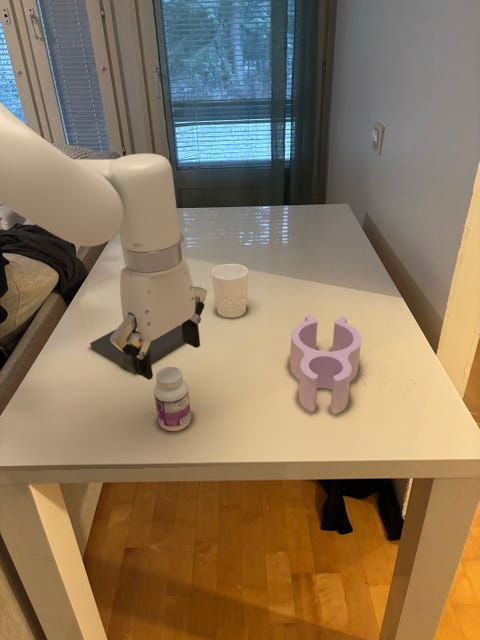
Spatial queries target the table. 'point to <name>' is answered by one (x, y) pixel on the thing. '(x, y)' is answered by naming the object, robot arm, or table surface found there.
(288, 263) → the table surface
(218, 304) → the white cup
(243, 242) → the table surface
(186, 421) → the pill bottle
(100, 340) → the scale
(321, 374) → the clip
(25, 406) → the table surface
